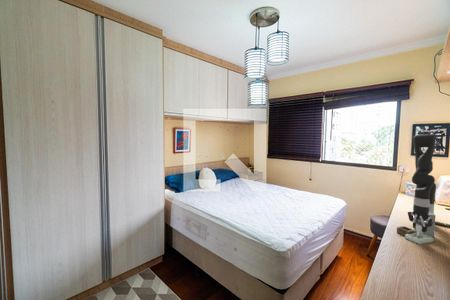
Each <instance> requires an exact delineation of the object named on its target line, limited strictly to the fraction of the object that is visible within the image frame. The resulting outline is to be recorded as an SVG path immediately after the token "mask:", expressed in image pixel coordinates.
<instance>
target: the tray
mask: <svg viewBox="0 0 450 300" xmlns="http://www.w3.org/2000/svg"><path fill="white" fill-rule="evenodd" d="M404 239H406V240H408V241H410V242H413V243H416V244H417V243H418V245H422V244H428V243H434V237H430V236H427V235H424V234H423V239H419V238H416V237H415V233H412V234H406V235H405V236H404Z"/></svg>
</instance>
